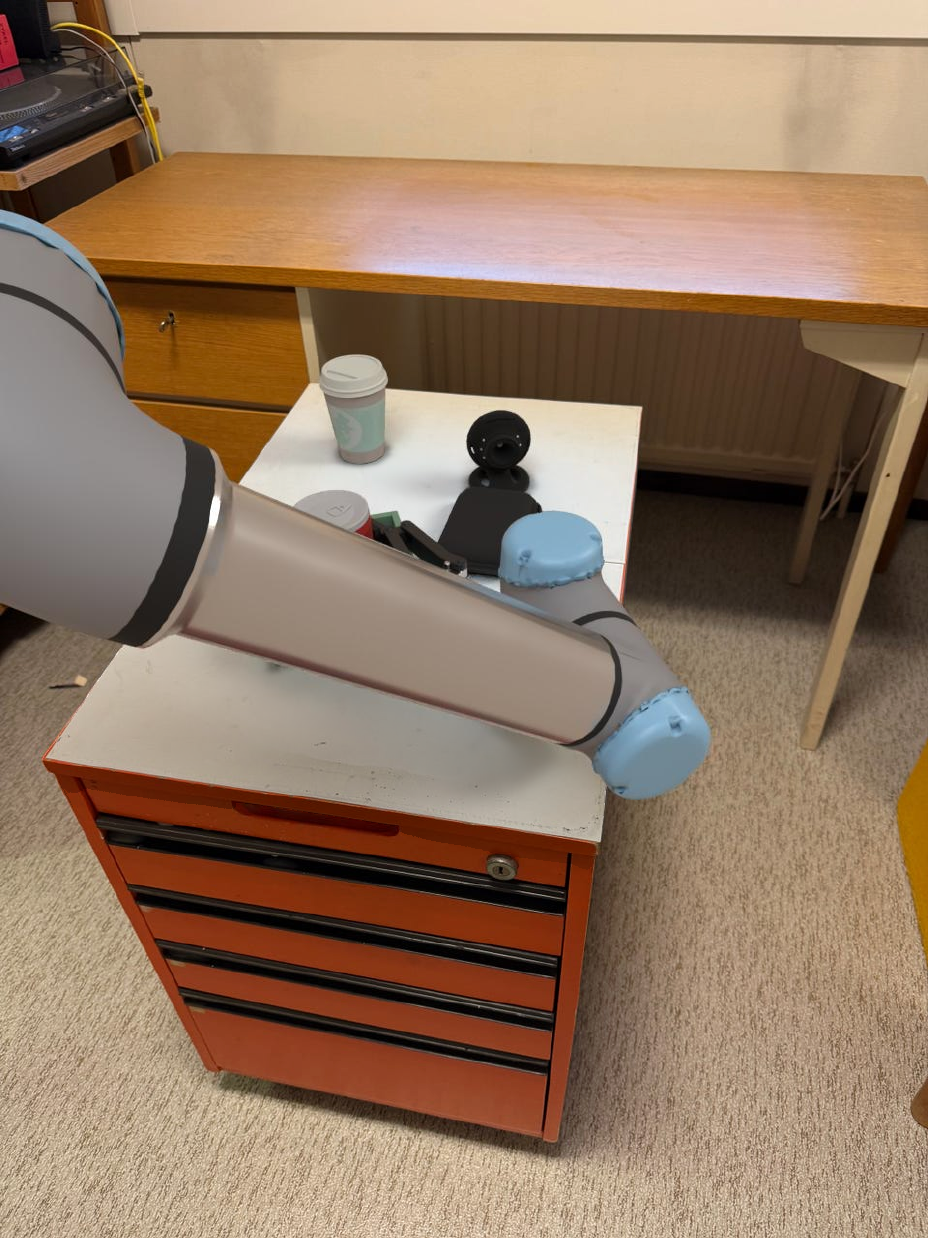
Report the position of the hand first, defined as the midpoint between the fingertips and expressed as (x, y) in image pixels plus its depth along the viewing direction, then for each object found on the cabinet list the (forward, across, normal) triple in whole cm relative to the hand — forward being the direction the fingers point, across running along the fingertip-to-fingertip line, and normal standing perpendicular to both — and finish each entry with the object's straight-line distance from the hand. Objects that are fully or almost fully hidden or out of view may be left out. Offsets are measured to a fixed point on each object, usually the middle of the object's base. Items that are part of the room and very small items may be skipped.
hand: (306, 534), depth 91 cm
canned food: (-5, 0, -6) cm, 8 cm away
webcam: (-2, +28, -7) cm, 28 cm away
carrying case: (-9, +18, -7) cm, 22 cm away
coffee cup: (+17, +22, -7) cm, 28 cm away
